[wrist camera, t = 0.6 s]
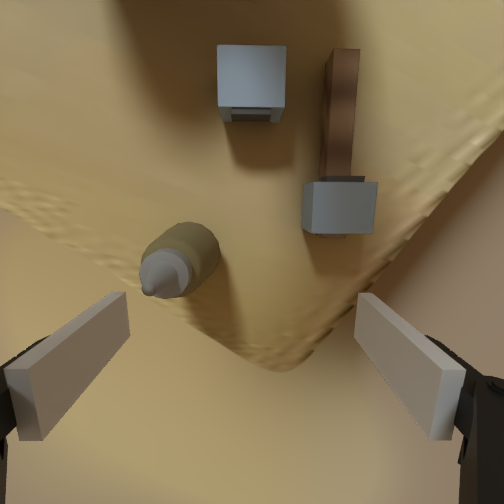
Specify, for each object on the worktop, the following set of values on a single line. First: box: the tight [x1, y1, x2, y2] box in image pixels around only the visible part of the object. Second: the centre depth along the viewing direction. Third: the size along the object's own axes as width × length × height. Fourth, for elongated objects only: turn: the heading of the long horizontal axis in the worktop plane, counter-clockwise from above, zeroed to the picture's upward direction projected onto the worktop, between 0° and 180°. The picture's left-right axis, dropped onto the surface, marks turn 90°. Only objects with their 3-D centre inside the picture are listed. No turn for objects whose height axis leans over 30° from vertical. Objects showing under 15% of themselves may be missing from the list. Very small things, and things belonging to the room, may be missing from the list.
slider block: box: [302, 176, 378, 234], centre depth 34 cm, size 7×7×6 cm
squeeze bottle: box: [139, 222, 220, 299], centre depth 29 cm, size 8×8×18 cm
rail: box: [316, 49, 360, 238], centre depth 34 cm, size 22×3×4 cm, turn 0°
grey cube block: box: [217, 45, 287, 123], centre depth 31 cm, size 7×7×6 cm
